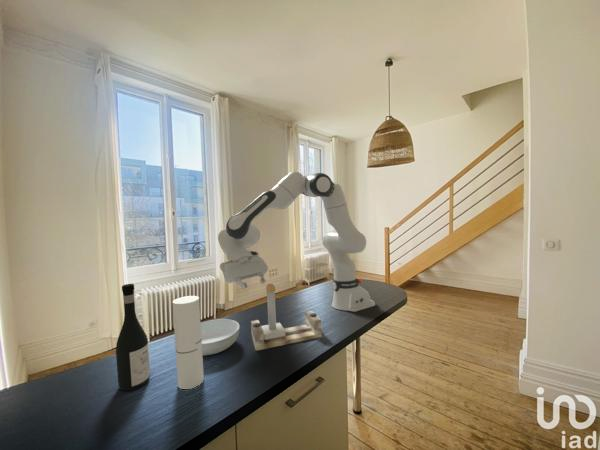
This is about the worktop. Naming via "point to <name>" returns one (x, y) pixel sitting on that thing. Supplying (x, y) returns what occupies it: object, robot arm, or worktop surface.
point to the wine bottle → (131, 347)
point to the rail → (288, 333)
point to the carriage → (272, 317)
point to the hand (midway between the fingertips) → (254, 285)
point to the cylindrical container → (188, 341)
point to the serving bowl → (218, 335)
